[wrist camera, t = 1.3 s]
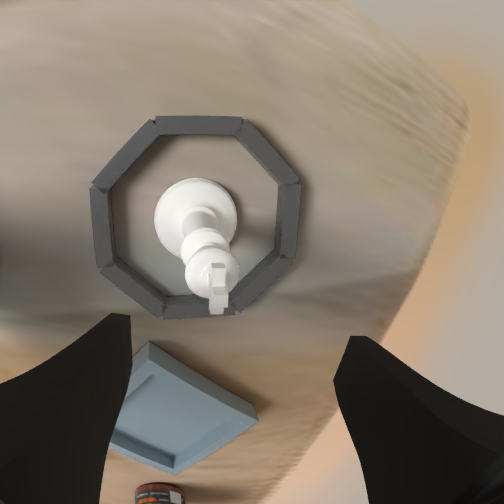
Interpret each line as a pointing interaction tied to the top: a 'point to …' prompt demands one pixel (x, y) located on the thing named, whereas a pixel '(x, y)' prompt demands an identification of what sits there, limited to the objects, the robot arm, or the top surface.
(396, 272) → the top surface
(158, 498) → the supplement bottle
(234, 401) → the tray
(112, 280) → the collar
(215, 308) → the chess piece
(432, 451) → the robot arm
